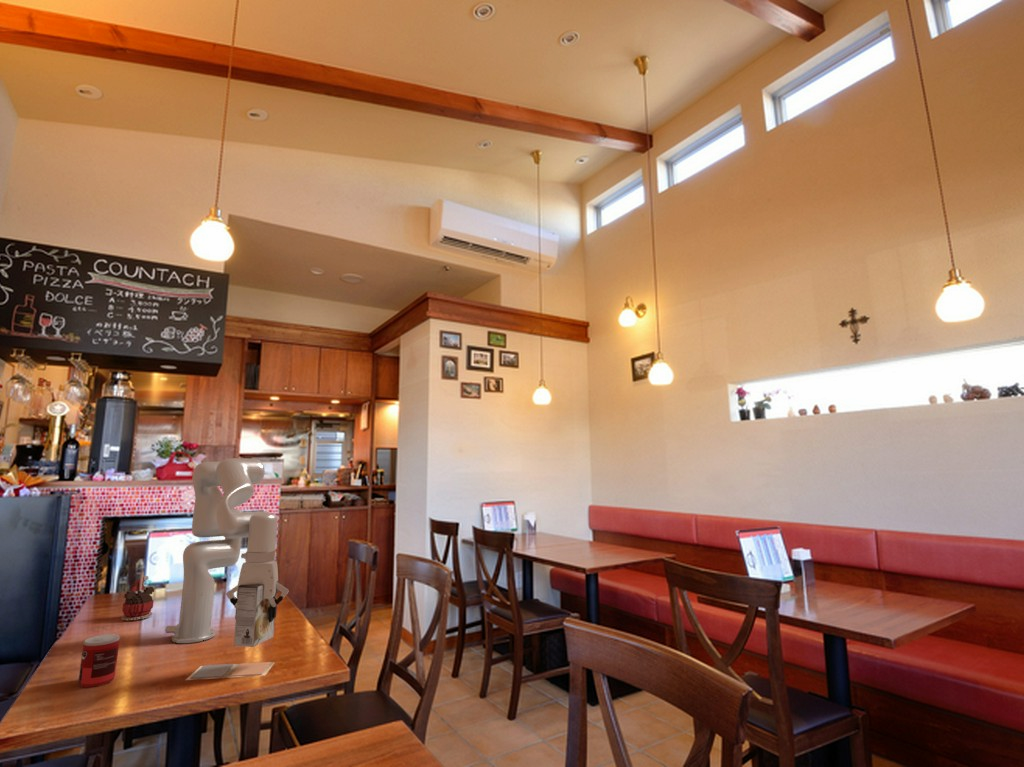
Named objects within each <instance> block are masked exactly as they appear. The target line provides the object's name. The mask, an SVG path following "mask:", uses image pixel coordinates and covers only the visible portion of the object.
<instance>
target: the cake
mask: <svg viewBox="0 0 1024 767" xmlns="http://www.w3.org/2000/svg"><path fill="white" fill-rule="evenodd" d="M139 577H140V578H138V579H137V580H136V581H135V582H134V583H133V584H132V587H131V588H130V590H129V591H126V593H124V594H123V595H124V596H123V599H124V600H125V601H124V602H123V604H122V610H121V611H122V613H123V615H122V616H121V618H120V619H121V620H122V621H130V620H133V621H139V620H138V619H141V620H144V618H145V619H147V618H150V617H152V615H153V612H151V611H152V609H153V608H154V601H155V600H154V599H153V596H152V595H153V593H154V592H155V588H154V586H148V587H146V586H145V581H146V582H147V581H148V580H149V578H150V577H149V576H148V575H145V569H144V568H142V569H140V576H139Z"/></svg>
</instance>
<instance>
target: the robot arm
mask: <svg viewBox="0 0 1024 767" xmlns="http://www.w3.org/2000/svg"><path fill="white" fill-rule="evenodd" d="M265 472H266V471H265V466H264V464H263V462H262V461H261V460H259V459H257V458H246V457H244V458H238V457H236V458H235V457H234V458H233V457H232V458H226V459H223V460H222V461H204V462H200V463H198V464H196V466H194V469H193V472H192V486H193V490H194V496H195V497H194V505H193V506H194V507H193V514H192V522H191V532H192V535H193V536H194V537H196V538H214V537H215V538H216V537H223V538H224V539H213V540H202V541H196V542H192V543H190V544H188V545H187V546H186V547H185V549H184V550H183V551H182V552H183V553H182V564H183V565H182V566H183V581H182V582H183V583H182V592H181V601H180V612H179V620H178V624H177V625H166V627H165V630H164V632H165V634H171V633H173V635H172V637H171V641H172V642H173V643H175V642H176V643H175V644H192V643H193V644H194V643H198V642H204V641H206V640H210V639H212V638H213V637H214V636H216V630H214V629H212V619H213V618H212V616H213V607H214V598H215V585H216V583H215V582H216V581H215V579H214V577H213V575H212V574H211V573H210V572H209V570H213V569H217V568H218V569H219V568H226V567H231V566H234V565H235V564H237V562H238V561H239V558H240V559H244V560H245V562H243V563H242V565H241V569H240V572H239V577H238V581H237V585H236V586H234V587H233V588H231V589H229V590H228V591H227V592H226V593H225V595H226V597H227V598H228V599H229V602H230V603H231V604H232V605H233V607H234V608H235V612H236V611H237V598H238V586H239V585H255V584H256V585H258V584H263V585H264V598H263V599H264V600H266V599H268V600H269V602H270V604H271V607H270V608H269V622H272V621H273V620H274V618H276V616H277V608H278V605H279V604H280V603H281V601H283V600H284V599H285V597H286V596H287V595H288V593H289V591H290V590H289V588H287V587H285V586H284V585H283V584H281V583H279V568H278V563H277V562H278V561H277V560H276V548H277V547H276V546H277V534H278V533H277V532H278V522H279V520H278V519H279V517H278V516H277V515H276V514H275V513H270V512H268V511H264V510H263V511H262V510H257V511H240V510H239V509H238V508H236V507H238V506H241V505H244V504H245V503H247V502H248V501H249V500H250V499H251V498H252V497H253V496H254V493H255V487H254V485H256V484H259V483H261V482H262V480H264V477H265ZM219 487H221V489H220V488H219ZM221 490H222V491H221ZM222 492H223V493H222ZM245 538H247V547H246V552H244V553H241V548H242V546H241V545H242V539H245ZM240 554H241V556H240ZM278 591H280V592H281V594H280V595H279V597H278V598H277V594H278ZM235 593H236V596H235ZM275 595H276V596H275ZM234 619H235V621H236V613H235V617H234ZM203 640H204V641H203Z"/></svg>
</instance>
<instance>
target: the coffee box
mask: <svg viewBox="0 0 1024 767" xmlns="http://www.w3.org/2000/svg"><path fill="white" fill-rule="evenodd" d="M275 596H276V597H277V594H276V595H275ZM236 598H237V597H236ZM263 598H264V585H263V584H258V585H256V584H255V585H239V586H238V598H237V611H236V610H235V614H236V620H235V626H234V637H233V646H234V647H246V648H255V647H256V646H258V645H260V644H261V643H264V642H266V641H268V640H270V639H272V638H273V637H274V633H275V631H274V630H275V618H276V617H275V618H274V620H273V621H272V622H269V608H270V607H271V604H270V602H269V600H268V599H266V600H264V599H263Z"/></svg>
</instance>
